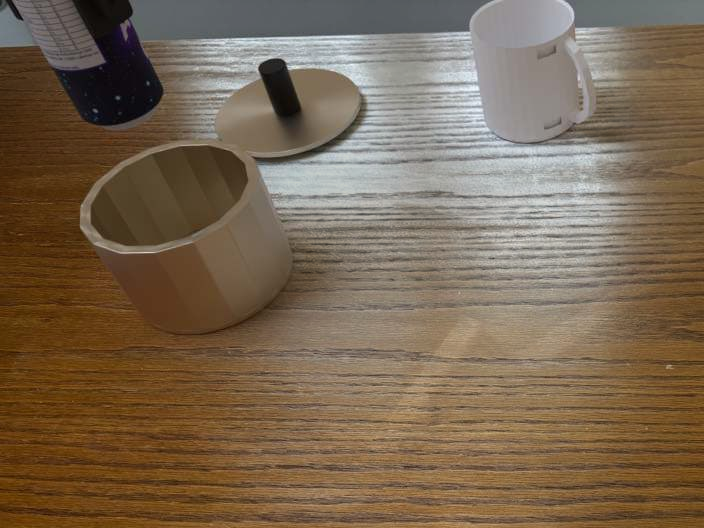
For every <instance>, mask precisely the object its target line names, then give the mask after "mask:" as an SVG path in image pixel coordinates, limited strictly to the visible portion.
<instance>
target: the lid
mask: <svg viewBox="0 0 704 528" xmlns="http://www.w3.org/2000/svg"><path fill="white" fill-rule="evenodd" d="M257 71H258V73H259V75H260V78H258V79H256V80H253V81H251V82H250V83H248V84H246V85H243V87H241V88H240V89H237V90H236V91H235V92H234V93H233V94H232V95H230V96H229V97H228V98H227V99H226V100H225V101H224V102H223V104H222V105H221V106H220V108H219V109H218V111H217V114H216V116H215V120H214V129H215V132H216V136H218V140H219V141H223V142H227V143H231V144H235V145H238V146H239V147H241V148H242V149H243V150H244V151H245V152H246V153H248V154H249V155H250V156H251V157H252V158H281V157H287V156H293V155H298V154H301V153H304V152H308V151H310V150H314V149H315V148H318V147H320V146H323V145H324V144H327V143H328V142H330V141H331V140H333V139H335V138H337V137H338V136H339V135H340V134H343V132H344V131H345V130H347V129H348V128H349V127H350V126H351V124H353V122H354V121H355V120H356V118H357V116H358V115H359V112H360V109H361V105H362V98H361V94H360V90H359V88H358V86H357V85H356V84H355V82H353V80H351V78H349V77H347V75H344V74H343V73H339V72H337V71H334V70H330V69H324V68H316V67H315V68H314V67H313V68H311V67H310V68H309V67H307V68H306V67H305V68H304V67H303V68H293V69H289V68H288V65H287V62H286V61H285V59H283V58H279V57H273V58H269V59H266V60H264V61H262V62H261V63H259V65H258V67H257Z"/></svg>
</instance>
